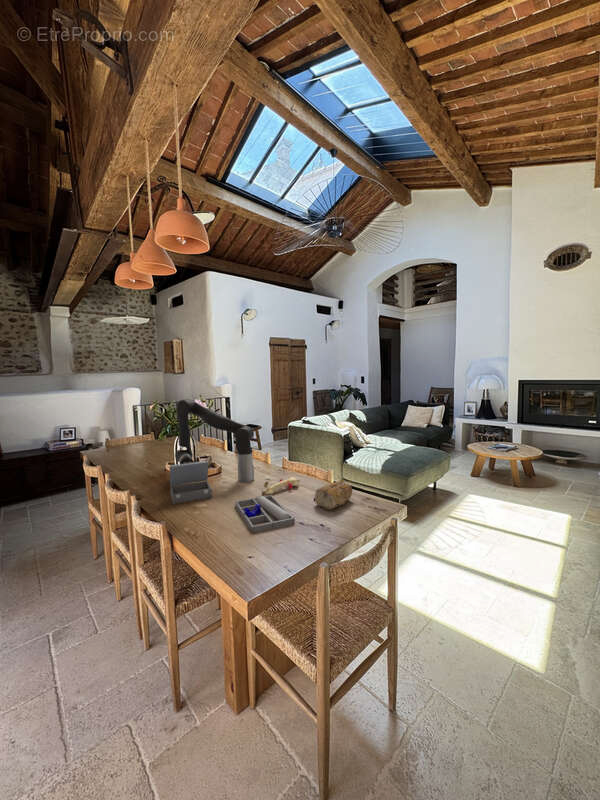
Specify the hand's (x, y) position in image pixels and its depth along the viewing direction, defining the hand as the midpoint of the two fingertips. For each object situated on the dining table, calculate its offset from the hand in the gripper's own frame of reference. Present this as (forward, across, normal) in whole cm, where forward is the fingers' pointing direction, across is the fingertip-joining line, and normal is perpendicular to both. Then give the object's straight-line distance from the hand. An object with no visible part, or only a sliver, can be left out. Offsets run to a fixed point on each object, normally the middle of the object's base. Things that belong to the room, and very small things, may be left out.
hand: (189, 470), depth 189 cm
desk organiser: (+42, +28, +14) cm, 53 cm away
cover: (0, 0, +2) cm, 2 cm away
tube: (+43, +34, +14) cm, 57 cm away
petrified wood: (+45, +66, +14) cm, 81 cm away
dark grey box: (+4, 0, +14) cm, 14 cm away
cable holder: (+42, +24, +13) cm, 51 cm away
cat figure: (+15, +49, +14) cm, 53 cm away
